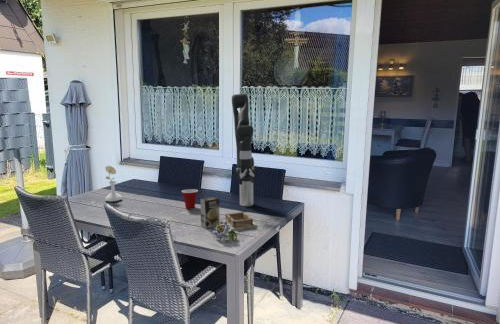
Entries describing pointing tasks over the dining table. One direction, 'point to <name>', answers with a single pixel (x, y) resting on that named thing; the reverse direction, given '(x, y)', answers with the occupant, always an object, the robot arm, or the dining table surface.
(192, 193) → the plastic cup
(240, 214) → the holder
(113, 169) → the flower in vase
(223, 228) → the passion flower
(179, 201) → the dining table surface
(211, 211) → the coffee box
